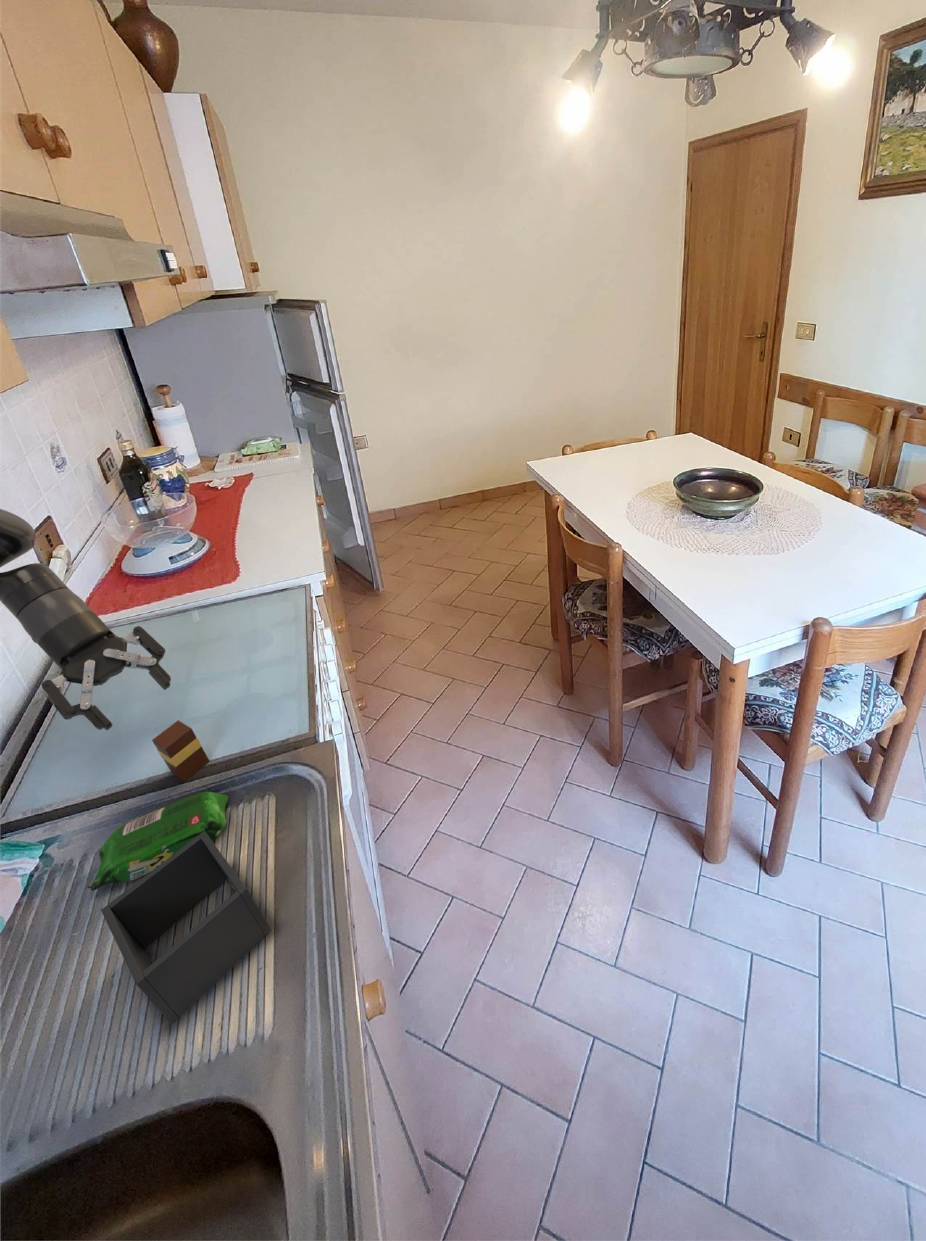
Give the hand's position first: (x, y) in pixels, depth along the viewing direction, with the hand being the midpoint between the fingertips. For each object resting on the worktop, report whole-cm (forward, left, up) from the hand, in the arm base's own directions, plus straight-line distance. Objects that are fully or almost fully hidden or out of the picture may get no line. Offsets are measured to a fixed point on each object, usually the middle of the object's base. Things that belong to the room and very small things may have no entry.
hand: (140, 706), depth 86 cm
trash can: (-8, -33, -11) cm, 36 cm away
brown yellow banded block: (+1, -6, -11) cm, 13 cm away
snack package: (-6, -17, -11) cm, 21 cm away
